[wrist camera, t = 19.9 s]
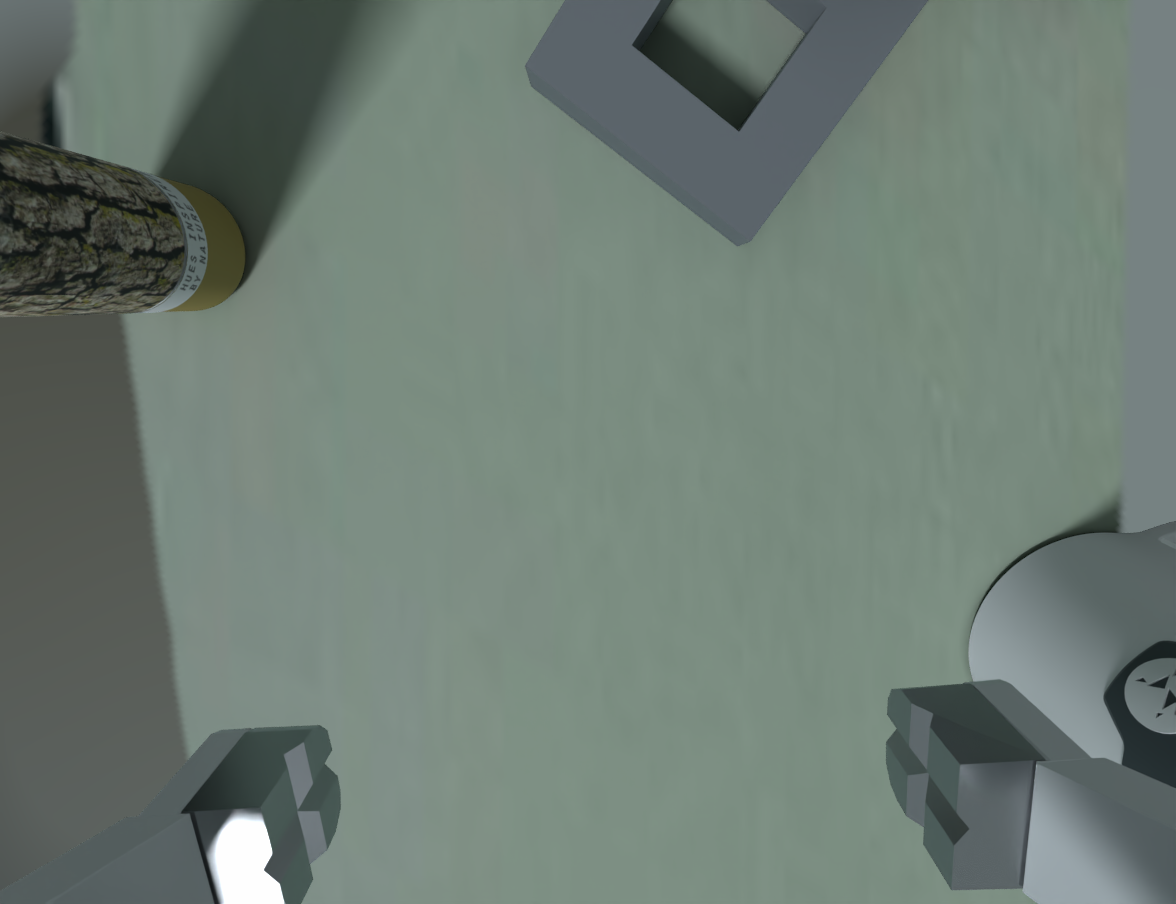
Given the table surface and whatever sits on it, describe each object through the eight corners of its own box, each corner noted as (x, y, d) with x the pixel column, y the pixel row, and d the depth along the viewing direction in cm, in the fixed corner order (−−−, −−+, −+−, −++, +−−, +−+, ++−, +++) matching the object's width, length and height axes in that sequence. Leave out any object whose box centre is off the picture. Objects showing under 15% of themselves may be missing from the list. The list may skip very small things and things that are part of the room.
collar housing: (907, 14, 32) (938, -14, 29) (737, 246, 35) (750, 241, 32) (692, -175, 31) (703, -225, 28) (531, 86, 33) (524, 65, 30)
